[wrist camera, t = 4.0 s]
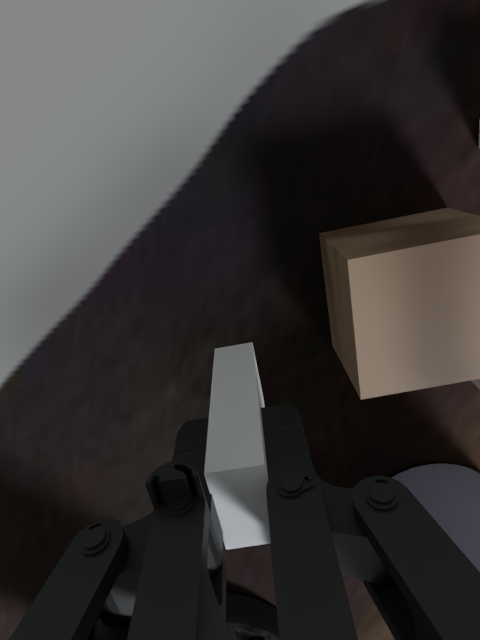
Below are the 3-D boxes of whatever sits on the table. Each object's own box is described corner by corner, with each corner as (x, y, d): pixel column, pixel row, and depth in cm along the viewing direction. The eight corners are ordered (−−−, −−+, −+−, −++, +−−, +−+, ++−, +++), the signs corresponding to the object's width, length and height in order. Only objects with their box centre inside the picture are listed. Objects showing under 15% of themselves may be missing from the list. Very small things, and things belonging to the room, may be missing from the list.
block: (332, 344, 25) (360, 399, 20) (318, 232, 23) (347, 259, 17) (446, 323, 25) (508, 373, 19) (446, 207, 22) (518, 226, 17)
